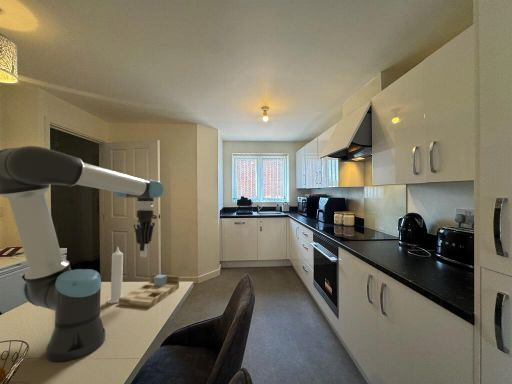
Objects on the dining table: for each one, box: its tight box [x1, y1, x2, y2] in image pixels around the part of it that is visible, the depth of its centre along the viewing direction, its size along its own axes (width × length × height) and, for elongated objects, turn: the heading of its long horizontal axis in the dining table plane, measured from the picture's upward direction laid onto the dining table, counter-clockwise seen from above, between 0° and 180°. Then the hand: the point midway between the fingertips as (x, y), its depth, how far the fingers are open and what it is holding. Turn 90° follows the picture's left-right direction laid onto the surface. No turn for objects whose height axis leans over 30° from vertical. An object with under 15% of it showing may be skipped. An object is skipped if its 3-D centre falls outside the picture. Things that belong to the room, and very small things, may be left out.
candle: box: [107, 246, 124, 305], centre depth 109 cm, size 7×7×25 cm
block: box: [154, 274, 167, 287], centre depth 122 cm, size 4×4×4 cm
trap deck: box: [118, 273, 180, 309], centre depth 114 cm, size 24×16×6 cm, turn 168°
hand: (143, 256), depth 116 cm, fingers closed
